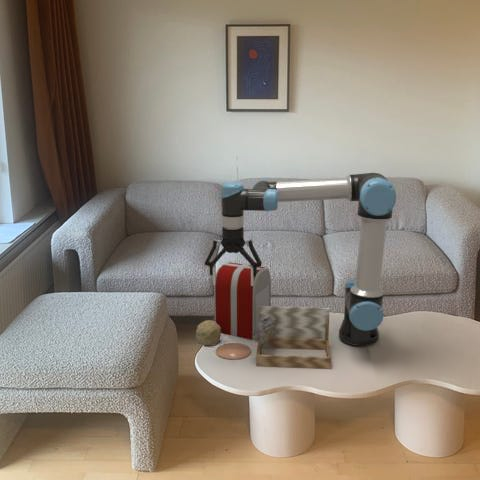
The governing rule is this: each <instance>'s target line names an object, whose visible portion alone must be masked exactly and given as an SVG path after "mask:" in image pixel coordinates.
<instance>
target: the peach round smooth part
mask: <svg viewBox="0 0 480 480" xmlns="http://www.w3.org/2000/svg"><path fill="white" fill-rule="evenodd" d="M215 354H216V356H217V357H219V358H221V359H225V360H230V361H232V360H234V361H236V360H242V359H243V360H244V359H246V358H248V357H249V356H250V355H251V354H252V349H251V348H250V346H248V345H246V344H243V343H238V342H236V343H235V342H229V343H225V344H222V345H219V346H217V347H216V349H215Z"/></svg>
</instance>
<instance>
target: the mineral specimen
mask: <svg viewBox="0 0 480 480" xmlns="http://www.w3.org/2000/svg"><path fill="white" fill-rule="evenodd" d="M276 324H277V319H274V318H271V317H267V318H266V319H263V321H262V324H261V326H260V327H259V328H257V329H256V330H254V332H253V333H254V334H253V335H254V336H253V337H257V339H256V340H254V343H255V344H256V343H258V342H260V345H261V348H260V349H261V350H262V349H263V348H262V347H264V346H265V344H266V342H267V341H268V339H269V337H270V335H271V334H272V332H273V330H274V329H275V326H276ZM253 337H252V338H253Z"/></svg>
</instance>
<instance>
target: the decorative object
mask: <svg viewBox="0 0 480 480" xmlns="http://www.w3.org/2000/svg"><path fill="white" fill-rule="evenodd" d="M221 335H222V333H221V328H220V326H219V325H218V324H217V323H216V322H215V321H214V320H210V319H209V320H204V321H202V322H200V323H199V324H198V325H197V328H196V331H195V341H196V342H197V344H199V345H202V346H215V345H216V344H218V343H219V342H220V340H221Z"/></svg>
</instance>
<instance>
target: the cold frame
mask: <svg viewBox="0 0 480 480" xmlns="http://www.w3.org/2000/svg"><path fill="white" fill-rule="evenodd" d="M330 310H331V309H330V307H304V306H303V307H299V306H272V305H271V306H259V327H260V326H261V324H262V321H263V319H266V318H267V317H271V318H274V319H277V324H276V326H275V329H274V330H273V332H272V334H271V335H270V337H269V339H268V341H267V342H266V344H265V346H264V347H262V348H261V345H260V342H257V346H256V354H255V356H256V358H255V367H267V368H268V367H270V368H273V367H274V368H275V367H276V368H297V369H299V368H300V369H302V368H303V369H326V370H327V369H329V370H330V369H331V367H332V366H331V365H332V364H331V363H332V357H331V356H332V355H331V349H330V348H331V347H330V341H329V337H330V335H329V334H330V331H329V330H330ZM260 348H261V349H260ZM262 349H281V350H282V349H287V350H311V351H312V350H313V351H315V350H316V351H325V356H309V355H285V354H284V355H283V354H281V355H278V354H276V355H275V354H261V351H262Z"/></svg>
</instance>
